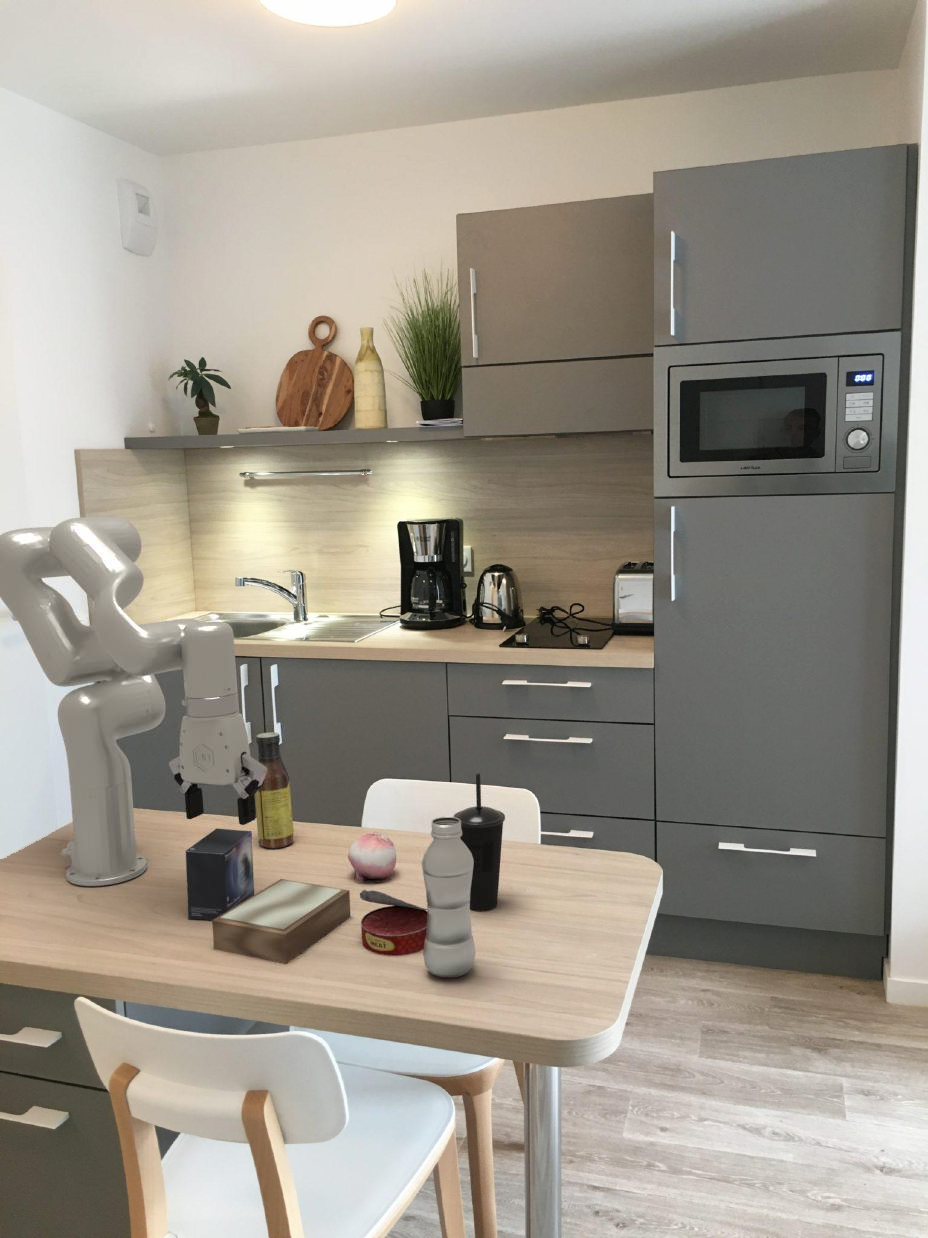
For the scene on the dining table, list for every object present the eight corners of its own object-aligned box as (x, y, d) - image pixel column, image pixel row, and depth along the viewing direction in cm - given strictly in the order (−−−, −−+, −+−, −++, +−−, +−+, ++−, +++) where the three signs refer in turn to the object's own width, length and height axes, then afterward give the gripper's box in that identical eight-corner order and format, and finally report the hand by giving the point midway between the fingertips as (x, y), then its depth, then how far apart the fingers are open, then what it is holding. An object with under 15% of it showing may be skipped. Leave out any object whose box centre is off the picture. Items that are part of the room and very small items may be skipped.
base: (213, 948, 137) (212, 918, 137) (282, 904, 151) (281, 877, 151) (286, 963, 132) (285, 932, 132) (350, 916, 146) (349, 888, 146)
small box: (227, 923, 145) (224, 853, 144) (186, 920, 147) (182, 851, 146) (257, 894, 156) (253, 829, 154) (218, 892, 157) (214, 827, 156)
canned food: (362, 970, 140) (342, 899, 143) (428, 948, 144) (408, 879, 146) (380, 965, 130) (359, 889, 133) (451, 941, 134) (429, 868, 137)
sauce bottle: (301, 841, 179) (296, 732, 177) (277, 852, 174) (271, 740, 172) (274, 835, 183) (268, 729, 180) (249, 846, 178) (243, 736, 175)
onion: (403, 878, 163) (409, 842, 161) (369, 897, 158) (375, 860, 155) (369, 853, 168) (374, 818, 165) (334, 871, 162) (340, 835, 159)
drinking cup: (514, 899, 151) (512, 769, 149) (494, 918, 144) (491, 783, 142) (468, 891, 155) (465, 765, 152) (447, 910, 148) (443, 778, 145)
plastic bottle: (422, 962, 131) (418, 814, 129) (474, 959, 132) (470, 812, 130) (424, 986, 125) (420, 831, 123) (478, 982, 126) (475, 828, 123)
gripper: (149, 709, 148) (158, 822, 150) (244, 713, 140) (253, 832, 142) (183, 699, 154) (192, 807, 156) (276, 703, 147) (283, 817, 149)
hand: (221, 819), depth 149 cm, fingers open, 9 cm apart
